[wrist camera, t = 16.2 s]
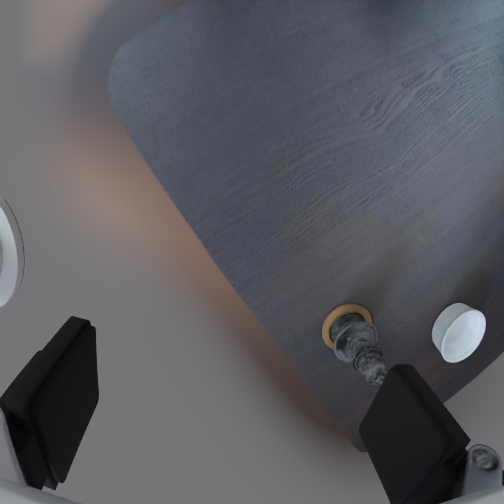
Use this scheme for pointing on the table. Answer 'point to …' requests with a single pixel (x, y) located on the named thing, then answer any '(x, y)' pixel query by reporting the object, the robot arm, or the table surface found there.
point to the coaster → (337, 312)
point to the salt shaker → (358, 346)
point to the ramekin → (458, 331)
